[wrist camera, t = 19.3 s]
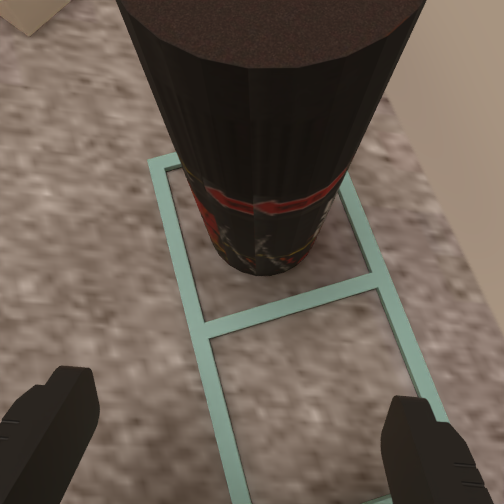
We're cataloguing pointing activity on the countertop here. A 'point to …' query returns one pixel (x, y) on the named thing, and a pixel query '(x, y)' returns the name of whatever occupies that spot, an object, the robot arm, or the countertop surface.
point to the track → (277, 309)
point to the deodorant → (267, 108)
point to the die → (30, 13)
